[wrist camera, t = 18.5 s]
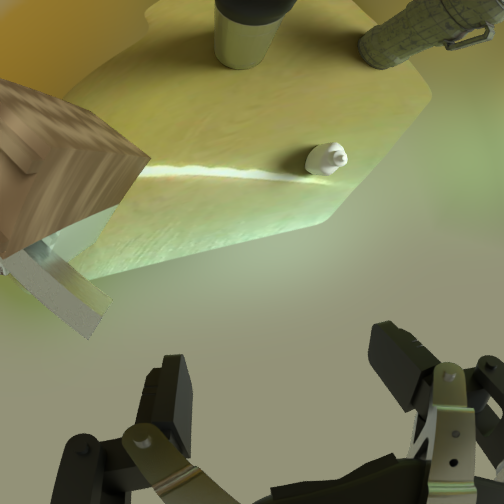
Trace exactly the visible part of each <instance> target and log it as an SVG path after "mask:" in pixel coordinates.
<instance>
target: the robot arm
mask: <svg viewBox="0 0 504 504" xmlns="http://www.w3.org/2000/svg"><path fill="white" fill-rule="evenodd" d="M296 1H297V0H215V23H214V52H215V55H216V57H217V59H218V60H219V61H220V62H221V63H222V64H224V65H225V66H227V67H230V68H233V69H248V68H251V67H254V66H256V65H257V64H258V63H260V62H261V61H262V59H263V58H264V56H265V54H266V52H267V50H268V48H269V46H270V44H271V42H272V40H273V38H274V36H275V34H276V32H277V30H278V28H279V26H280V24H281V22H282V20H283V18H284V16H285V14H286V13H287V12H289V11H290V10H291V8H292V7H293V5H294V4H295V2H296ZM368 359H369V362H370V364H371V366H372V367H373V369H374V370H375V372H376V373H377V374H378V376H379V377H380V378H381V380H382V381H383V382H384V384H385V385H386V387H387V388H388V389H389V391H390V392H391V393H392V395H393V396H394V398H395V399H396V400H397V401H398V403H399V405H400V406H401V407H402V409H403V410H404V412H405V413H406V412H409V411H411V410H413V409H416V411H417V413H416V416H415V420H414V427H413V433H412V439H411V443H410V448H409V452H408V455H407V457H406V458H402V459H396V457H395V456H394V454H393V453H391V454H388V455H386V456H383V457H381V458H379V459H376V460H373V461H370V462H368V463H365V464H364V465H362V466H361V467H359V468H357V469H356V470H354V471H352V472H351V473H349V474H347V475H346V476H344V477H342V478H340V479H337V480H326V481H303V482H298V483H293V484H288V485H284V486H277V487H271V488H270V489H271V495H269V496H266V497H264V498H262V499H260V500H258V501H256V502H254V503H253V504H504V363H503V362H502V361H501V360H500V359H498V358H497V357H494V356H490V355H487V356H483V357H481V358H480V359H479V360H478V363H477V365H476V367H474V368H469V369H462V368H461V367H460V366H458V365H457V364H455V363H451V362H443V363H441V362H440V361H439V360H438V359H437V358H436V357H435V356H434V355H433V354H432V353H431V352H430V351H429V350H428V349H427V348H426V347H424V346H422V344H421V343H420V342H419V341H417V339H416V338H415V337H414V336H413V335H412V334H411V333H409V332H407V331H405V330H403V329H399V328H398V327H397V326H396V325H394V324H393V323H392V322H391V321H385V322H381V323H377V324H374V325H373V326H372V330H371V337H370V343H369V349H368ZM192 392H193V391H192V384H191V380H190V376H189V373H188V369H187V366H186V362H185V358H184V356H183V354H178V355H165V356H164V358H163V363H162V368H153V369H152V370H151V372H150V373H149V374H148V375H147V376H146V380H145V384H144V388H143V392H142V396H141V400H140V405H139V408H138V413H137V417H136V422H135V425H132V426H131V427H129V428H128V429H127V430H126V431H125V432H124V433H123V436H122V437H121V438H117V439H113V440H107V441H102V442H99V441H98V440H97V439H96V438H95V437H94V436H92V435H90V434H84V433H83V434H78V435H75V436H73V437H72V438H70V439H69V440H68V442H67V443H66V446H65V449H64V452H63V455H62V459H61V462H60V466H59V469H58V473H57V477H56V481H55V485H54V489H53V494H52V499H51V503H50V504H131V491H134V490H139V489H144V488H149V487H153V489H154V490H155V492H156V493H157V495H158V496H159V497H160V498H161V499H162V501H163V502H164V503H165V504H240V503H239V502H238V501H237V500H235V499H234V498H233V497H232V496H230V495H229V494H228V493H227V492H226V491H225V490H223V489H222V488H221V487H220V486H219V485H218V484H216V483H215V482H214V481H213V480H212V479H211V478H210V477H209V476H208V475H207V474H206V473H204V472H203V471H202V470H201V469H200V468H199V467H197V466H193V465H192V464H191V463H190V462H189V461H188V460H187V459H186V458H191V422H192V401H193V393H192ZM490 396H491V397H492V398H493V399H494V400H495V401H496V402H497V403H498V405H499V406H500V407H501V408H502V411H503V416H502V418H501V420H500V419H499V417H498V416H497V415H496V414H495V413H494V411H493V410H492V409H491V408H490V407H489V405H488V404H487V402H488V400H489V398H490ZM476 441H477V443H478V444H479V446H480V447H481V448H482V450H483V452H484V453H485V454H486V456H487V457H488V459H489V460H490V462H491V463H492V465H493V466H494V468H495V469H496V478H495V479H494V480H490V479H485V478H481V477H477V476H474V470H475V444H476V443H475V442H476Z"/></svg>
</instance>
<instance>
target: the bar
mask: <svg viewBox="0 0 504 504" xmlns="http://www.w3.org/2000/svg"><path fill="white" fill-rule="evenodd" d="M0 263H1V264H2V265H3V266H4V267H5V268H6V269H7V270H8V271H9V272H10V273H11V274H12V275H13V276H14V277H15V278H16V279H17V280H18V281H19V282H20V283H21V284H22V285H23V286H24V287H25V288H26V289H27V290H28V291H29V292H30V293H31V294H32V295H34V296H35V297H36V298H37V299H38V300H39V301H40V302H41V303H42V304H44V305H45V306H46V307H47V308H48V309H50V310H51V311H52V312H53V313H54V314H55V315H57V316H58V317H59V318H60V319H61V320H63V321H64V322H65V323H66V324H68V325H69V326H70V327H72V328H73V329H74V330H75V331H77V332H78V333H79V334H80V335H82V336H83V337H85V338H86V339H87V340H89V338H90V336H91V335H92V333H93V332H94V330H95V329H96V327H97V325H98V324H99V322H100V321H101V319H102V317H103V316H104V314H105V313H106V311H107V309H108V308H109V306H110V305H111V303H112V301H113V299H111V298H110V297H109V296H107V295H106V294H105V293H103V292H102V291H101V290H99V289H98V288H97V287H96V286H94V285H93V284H92V283H91V282H89V281H88V280H87V279H86V278H85V277H83V276H82V275H81V274H80V273H78V272H77V271H76V270H75V269H74V268H73V267H71V266H70V265H69V264H68V263H67V262H65V261H64V260H63V259H62V258H61V257H60V256H59V255H58V254H56V253H55V252H54V251H53V250H52V249H51V248H50V247H49V246H48V245H46V244H45V243H44V242H43V241H42V240H39V241H37V242H35V243H33V244H31V245H30V246H28V247H26V248H24V249H22V250H20V251H18V252H16V253H15V254H13V255H11V256H9V257H7V258H6V259H4V260H3V259H2V258H1V257H0Z"/></svg>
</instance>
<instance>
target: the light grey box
mask: <svg viewBox="0 0 504 504" xmlns="http://www.w3.org/2000/svg"><path fill="white" fill-rule="evenodd" d="M118 205H119V204H118ZM118 205H115V206H113V207H111V208H108V209H106V210H103V211H101V212H99V213H96V214H94V215H92V216H90V217H87V218H85V219H83V220H81V221H78V222H76V223H74V224H72V225H70V226H67V227H65V228H63V229H61V230H59V231H57V232H55V233H53V234H51V235H49V236H47V237H45V238H43V239H41V240H42V241H43V242H44V243H45V244H46V245H48V246H49V247H50V248H51V249H52V250H53V251H54V252H55V253H56V254H58V255H59V256H60V257H61V258H62V259H63V260H64V261H65V262H69V261H70V260H71V259H73V258H74V257H75V256H77V255H78V254H80V253H81V252H82V251H84V250H85V249H87V248H88V247H89V246H91V245H92V244H94V243H95V242H96V240H97V238H98V237H99V235H100V233H101V232H102V230H103V228H104V227H105V225H106V224H107V222H108V220H109V219H110V217H111V216H112V214H113V212H114V211H115V209H116V208H117V206H118Z"/></svg>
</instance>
